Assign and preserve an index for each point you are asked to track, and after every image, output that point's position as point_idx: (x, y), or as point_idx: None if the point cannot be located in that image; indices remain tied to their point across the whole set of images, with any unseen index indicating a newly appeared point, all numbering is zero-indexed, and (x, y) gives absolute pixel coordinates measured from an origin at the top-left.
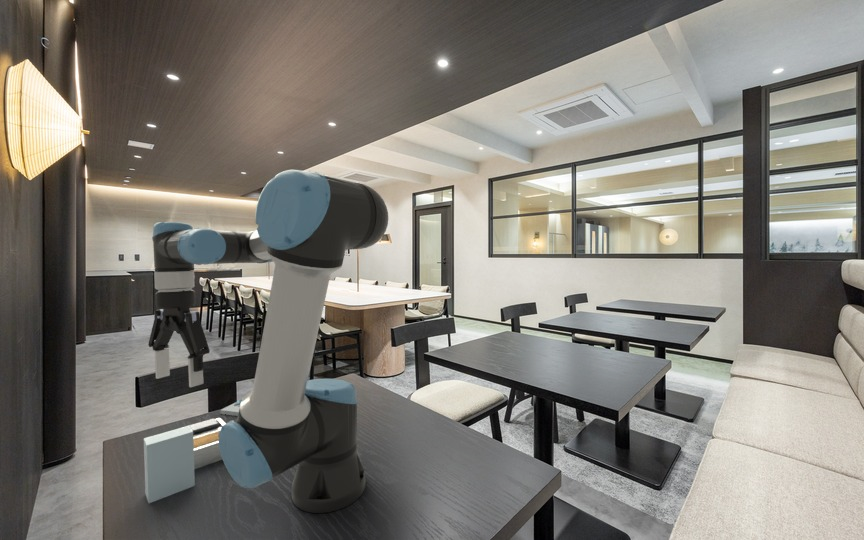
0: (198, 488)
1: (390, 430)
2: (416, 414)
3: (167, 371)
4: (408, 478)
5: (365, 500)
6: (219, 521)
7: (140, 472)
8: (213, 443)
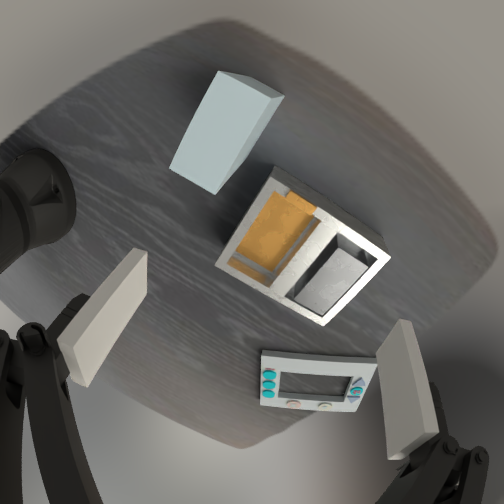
0: None
1: None
2: None
3: (382, 362)
4: None
5: None
6: (104, 89)
7: (368, 155)
8: (240, 231)
